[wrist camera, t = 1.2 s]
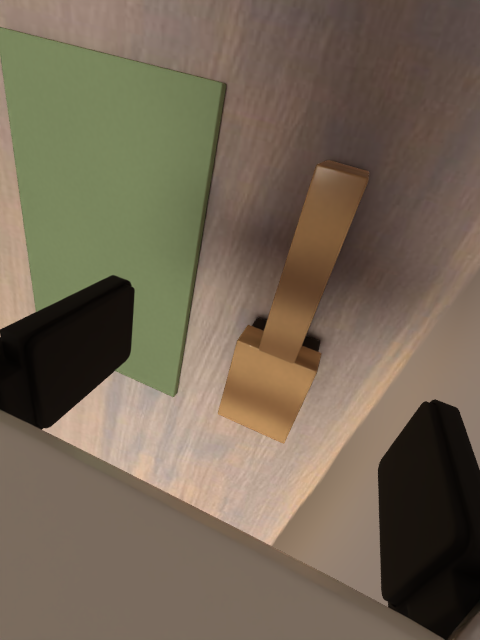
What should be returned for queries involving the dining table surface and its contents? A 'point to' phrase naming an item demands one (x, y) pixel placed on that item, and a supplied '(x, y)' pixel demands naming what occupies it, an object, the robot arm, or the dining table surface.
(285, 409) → the wooden brush
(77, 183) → the mat
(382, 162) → the dining table surface
